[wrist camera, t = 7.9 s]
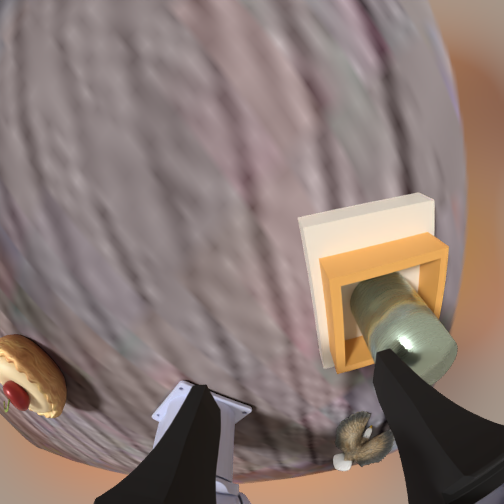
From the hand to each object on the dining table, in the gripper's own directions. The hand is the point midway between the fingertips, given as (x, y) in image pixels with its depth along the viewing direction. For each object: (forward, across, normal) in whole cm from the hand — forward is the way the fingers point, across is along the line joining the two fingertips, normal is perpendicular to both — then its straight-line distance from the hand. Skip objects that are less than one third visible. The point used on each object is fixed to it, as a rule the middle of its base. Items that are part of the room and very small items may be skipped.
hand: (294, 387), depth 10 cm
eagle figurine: (+10, -7, +25) cm, 28 cm away
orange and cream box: (+9, -7, +2) cm, 12 cm away
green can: (+7, -7, +2) cm, 10 cm away
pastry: (+10, +31, +7) cm, 34 cm away
